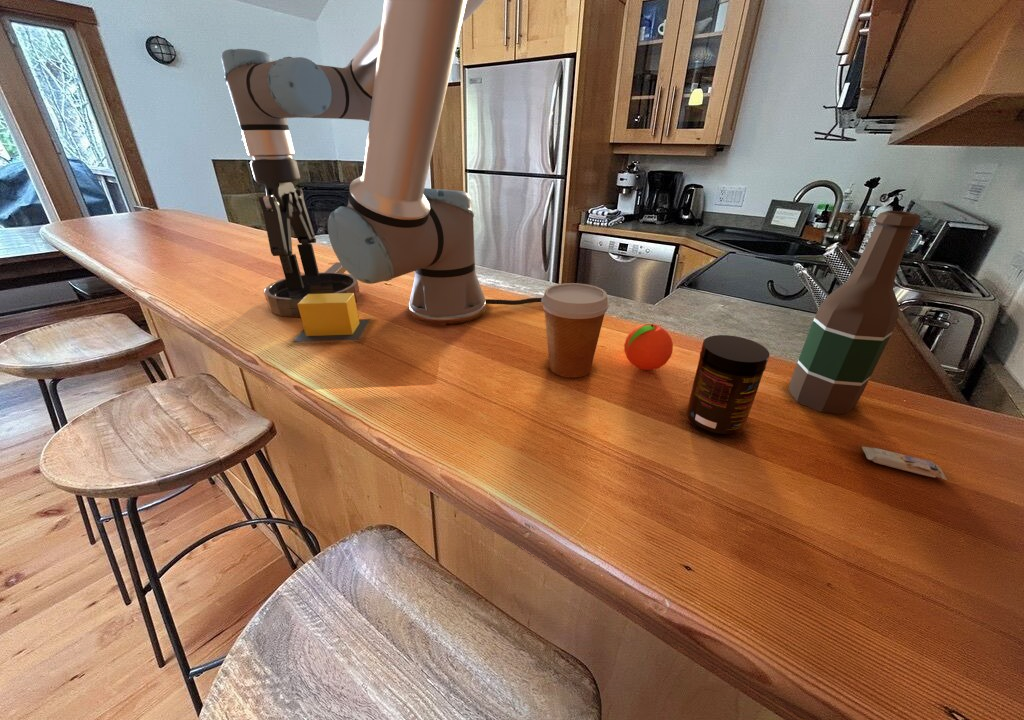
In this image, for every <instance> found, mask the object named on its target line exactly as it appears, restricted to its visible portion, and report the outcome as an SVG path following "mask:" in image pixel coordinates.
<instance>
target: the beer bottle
mask: <svg viewBox="0 0 1024 720" xmlns="http://www.w3.org/2000/svg"><path fill="white" fill-rule="evenodd" d="M873 222H874V223H875V224H876V225H875V226H874V228H873V231H872V232H871V234H870V237H869V239H868V241H867V243H866V244H865V247H864V249H863V251H862V253H861V255H860V257H859V259H858V262H857V263H856V266H855V267H854V269H853V271H852V272H851V274H850V276H849V277H848V279H847V280H846V282H844V283H842V285H840V286H838V288H836V289H835V290H833V291H832V292H831V293H830V294H829V295H828V296H827V297H826V298H825V299H824V300H823V301H822V302H821V303H820V305H819V306H818V309H817V311H816V312H815V315H814V317H813V320H812V323H811V325H810V328H809V331H808V333H807V336H806V338H805V341H804V344H803V347H802V348H801V351H800V354H799V357H798V359H797V362H796V364H795V367H794V369H793V373H792V375H791V378H790V382H789V385H788V392H789V393H790V395H791V396H792V398H794V400H795V401H796V403H798V404H801V405H803V406H806V407H808V408H810V409H812V410H814V411H816V412H819V413H824V414H837V415H845V414H847V413H849V411H851V410H852V409H853V408H854V407H855V406H856V405H857V404H858V402H859V400H860V399H861V397H862V395H863V393H864V391H865V390H866V387H867V385H868V383H869V382H870V379H871V377H872V375H873V373H874V370H875V369H876V367H877V365H878V363H879V360H880V359H881V356H882V355H883V352H884V351H885V349H886V346H887V344H888V342H889V341H890V338H891V336H892V334H893V332H894V329H895V327H896V324H897V323H898V322H897V321H898V318H899V300H898V298H897V296H896V292H895V290H894V287H895V286H894V285H895V280H896V277H897V273H898V270H899V267H900V265H901V263H902V261H903V257H904V255H905V252H906V249H907V247H908V245H909V244H908V243H909V241H910V238H911V236H912V233H913V231H914V228H915V227H917V226H919V225H920V222H921V215H920V214H918V213H915V212H911V211H902V210H886V211H883V212H879V213H878V215H877V216H876V217H875V219H874V220H873Z"/></svg>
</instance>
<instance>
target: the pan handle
mask: <svg viewBox="0 0 1024 720" xmlns="http://www.w3.org/2000/svg"><path fill="white" fill-rule="evenodd" d="M324 272H335V273H345V272H347V271H346V269H345V268H344V267H343V266H342V264H341V263H340V261H338V262H334V263H333V264H332V265H331V266H330V267H329V268H327V270H326V271H324Z"/></svg>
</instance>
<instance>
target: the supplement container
mask: <svg viewBox="0 0 1024 720" xmlns="http://www.w3.org/2000/svg"><path fill="white" fill-rule="evenodd" d="M701 345H702V346H701V349H700V352H699V357H698V358H699V359H698V363H697V367H696V371H695V375H694V379H693V383H692V386H691V389H690V395H689V399H688V404H687V407H686V411H685V416H686V418H687V420H688V422H689V423H690V425H691V426H692V427H693V428H695V430H698V431H699V432H701V433H703V434H705V435H708V436H711V437H716V438H720V439H721V438H723V439H725V438H733V437H736V436H738V435H740V434H741V433H742V432H743V431H744V430H745V428H746V426H747V425H746V424H747V423H748V419H749V416H750V413H751V410H752V407H753V405H754V401H755V399H756V395H757V393H758V390H759V386H760V383H761V381H762V377H763V375H764V372H765V370H766V367H767V364H768V361H769V358H770V355H771V354H770V351H769V350H768V349H767V348H766V347H765V346H763V345H762V344H761V343H758V342H757V341H754V340H752V339H748V338H745V337H741V336H736V335H728V334H717V335H711V336H707V337H705V338H704V339H703V341H702V344H701Z"/></svg>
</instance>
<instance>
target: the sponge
mask: <svg viewBox="0 0 1024 720" xmlns="http://www.w3.org/2000/svg"><path fill="white" fill-rule="evenodd" d="M298 308H299V312H300V315H301V317H300V320H301V322H302V327H303V329H304V330H305V334H306V336H325V335H353V333H354V332H355V330H356V328H357V327H358V325H359V320H360V318H359V312H358V308H357V303H356V302H355V297H354V293H329V294H308V295H307V296H305V297H304V298H303V299H302V300H301V301H300V302H299V303H298Z"/></svg>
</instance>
